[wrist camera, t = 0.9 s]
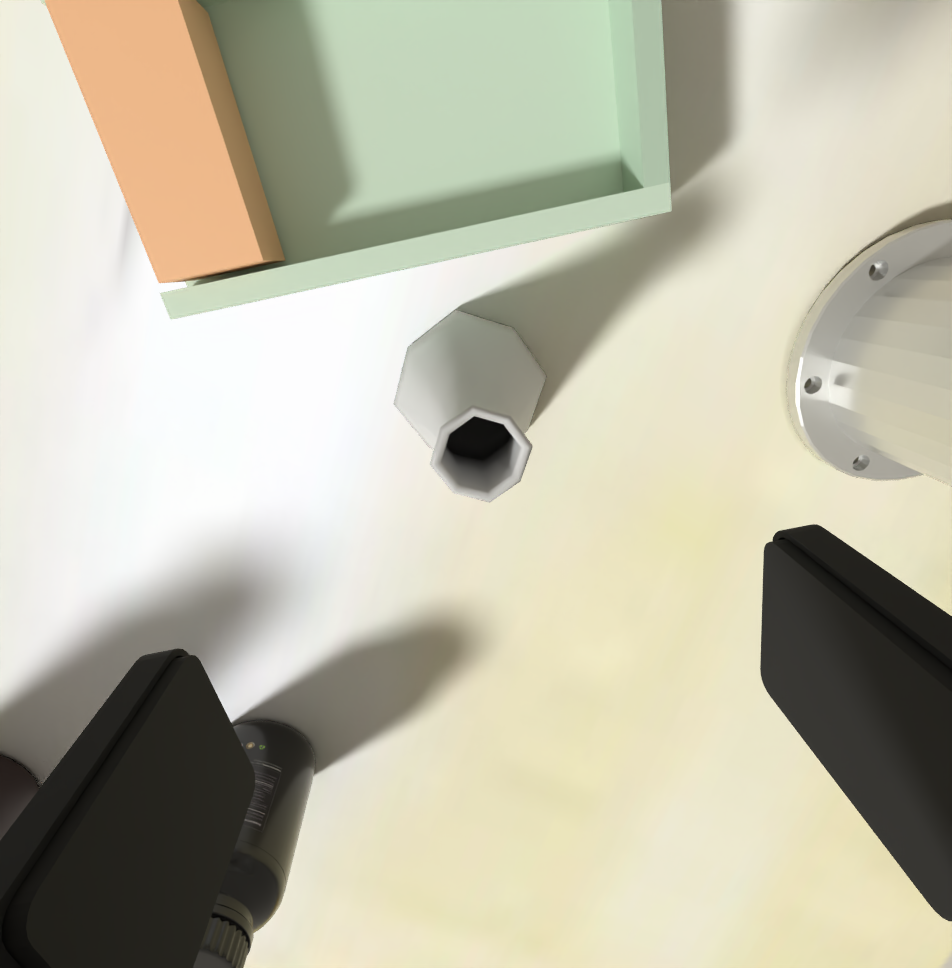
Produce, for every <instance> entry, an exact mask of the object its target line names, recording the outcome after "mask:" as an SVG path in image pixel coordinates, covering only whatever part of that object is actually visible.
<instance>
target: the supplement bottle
mask: <svg viewBox="0 0 952 968" xmlns="http://www.w3.org/2000/svg"><path fill="white" fill-rule="evenodd" d="M233 728H234V730H235V732H236V734H237V736H238V738H239V740H240V742H241V744H242V746H243V748H244V750H245V752H246V754H247V756H248V758H249V760H250V762H251V764H252V766H253V769H254V772H255V790H254V794H253V797H252V800H251V803H250V806H249V809H248V811H247V814H246V817H245V820H244V823H243V826H242V829H241V831H240V834H239V837H238V840H237V843H236V846H235V849H234V852H233V854H232V857H231V860H230V863H229V866H228V869H227V872H226V874H225V877H224V880H223V883H222V886H221V889H220V892H219V895H218V897H217V900H216V903H215V906H214V909H213V912H212V915H211V918H210V920H209V923H208V926H207V929H206V932H205V935H204V938H203V940H202V943H201V946H200V949H199V952H198V955H197V958H196V961H195V963H194V966H193V968H243V967H244V964H245V960H246V957H247V955H248V953H249V951H250V948H251V944H252V941H253V933H255V932H256V931H258V930H259V929H260V928H262V927H263V926H264V925H265V924H266V923H267V922H268V921H269V920H270V919H271V918H272V916H273V915H274V914H275V912H276V911H277V909H278V908H279V906H280V904H281V901H282V899H283V895H284V892H285V888H286V884H287V880H288V876H289V872H290V868H291V864H292V860H293V856H294V852H295V848H296V844H297V840H298V836H299V832H300V828H301V824H302V820H303V816H304V812H305V808H306V804H307V800H308V796H309V792H310V788H311V784H312V780H313V775H314V771H315V757H314V753H313V750H312V748H311V746H310V744H309V743H308V742H307V740H306V739H305V738H304V737H303V736H302V735H301V734H300V733H298V732H297V731H296V730H294V729H292V728H290V727H288V726H286V725H283V724H280V723H277V722H272V721H249V722H244V723H241V724H238V725H235V726H233Z"/></svg>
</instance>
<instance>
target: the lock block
mask: <svg viewBox="0 0 952 968" xmlns="http://www.w3.org/2000/svg"><path fill="white" fill-rule="evenodd" d="M44 1H45V3H46V6H47V8H48V10H49V13H50V15H51V18H52V20H53V23H54V25H55V28H56V30H57V33H58V35H59V38H60V40H61V43H62V45H63V47H64V50H65V52H66V55H67V57H68V60H69V62H70V65H71V67H72V70H73V72H74V75H75V77H76V80H77V82H78V85H79V87H80V89H81V92H82V94H83V97H84V99H85V102H86V104H87V107H88V109H89V112H90V114H91V117H92V119H93V122H94V124H95V126H96V129H97V131H98V134H99V136H100V139H101V141H102V144H103V146H104V149H105V151H106V154H107V156H108V159H109V161H110V164H111V166H112V168H113V171H114V173H115V176H116V178H117V181H118V183H119V186H120V188H121V191H122V193H123V196H124V198H125V201H126V203H127V206H128V208H129V210H130V213H131V215H132V218H133V220H134V223H135V225H136V228H137V230H138V233H139V235H140V238H141V240H142V243H143V245H144V247H145V250H146V252H147V255H148V257H149V260H150V262H151V265H152V267H153V270H154V272H155V275H156V277H157V280H158V282H159V283H169V282H182V281H195V280H199V279H204V278H208V277H213V276H217V275H222V274H227V273H231V272H236V271H240V270H245V269H250V268H254V267H259V266H263V265H268V264H273V263H277V262H282V261H286V260H285V257H284V254H283V251H282V247H281V244H280V241H279V238H278V235H277V231H276V228H275V225H274V222H273V219H272V215H271V212H270V209H269V206H268V203H267V199H266V196H265V193H264V190H263V187H262V183H261V180H260V177H259V174H258V171H257V167H256V164H255V161H254V158H253V155H252V151H251V148H250V145H249V142H248V139H247V135H246V132H245V129H244V126H243V123H242V119H241V116H240V113H239V110H238V107H237V103H236V100H235V97H234V94H233V91H232V87H231V84H230V81H229V78H228V75H227V72H226V68H225V65H224V62H223V59H222V56H221V52H220V49H219V46H218V43H217V40H216V36H215V33H214V30H213V27H212V24H211V20H210V17H209V14H208V12H207V11H206V10H205V9H204V8H203V7H202V6H201V5H200V4H199V3H198V2H197V1H196V0H44Z"/></svg>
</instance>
